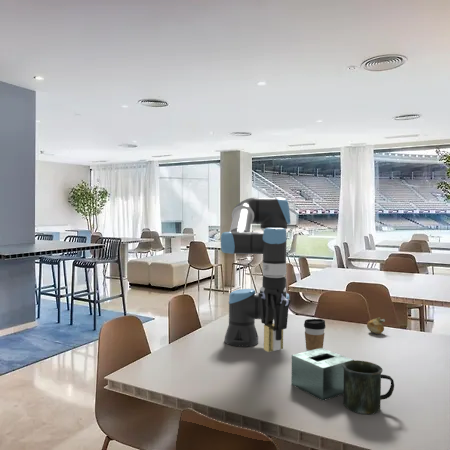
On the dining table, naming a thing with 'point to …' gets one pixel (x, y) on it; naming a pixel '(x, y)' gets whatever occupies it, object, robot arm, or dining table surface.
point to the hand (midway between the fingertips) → (273, 348)
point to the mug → (364, 386)
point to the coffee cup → (314, 333)
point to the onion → (376, 325)
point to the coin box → (319, 373)
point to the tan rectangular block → (270, 337)
